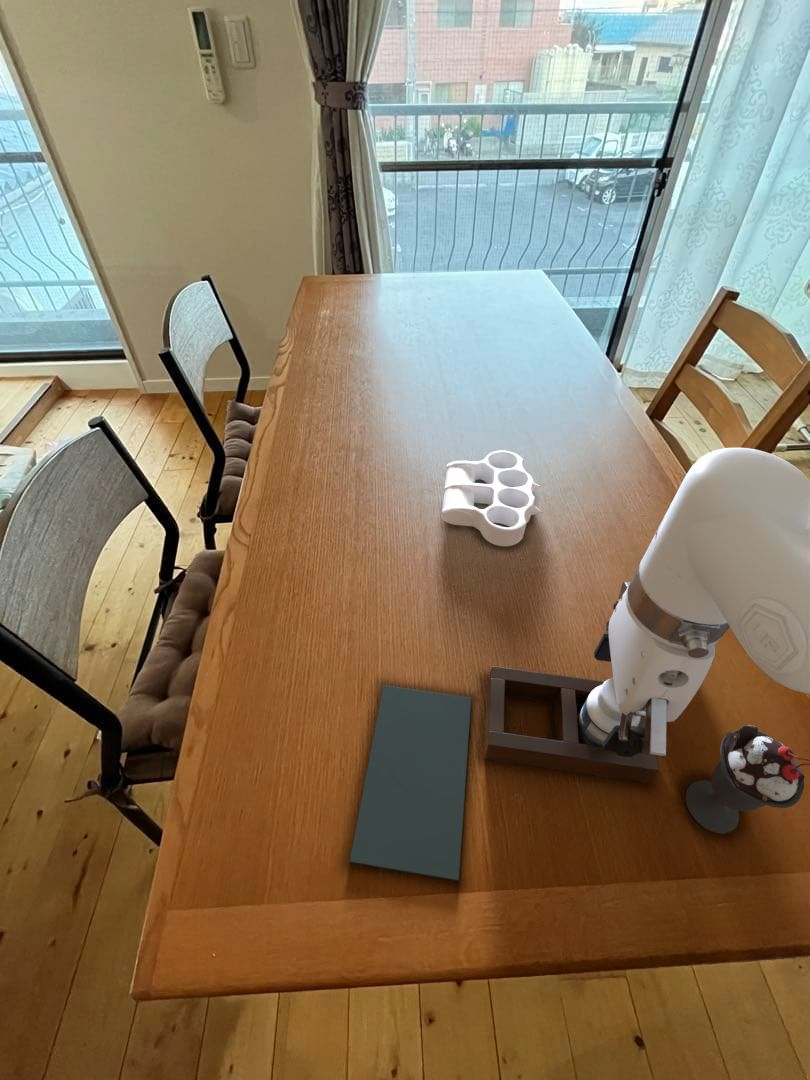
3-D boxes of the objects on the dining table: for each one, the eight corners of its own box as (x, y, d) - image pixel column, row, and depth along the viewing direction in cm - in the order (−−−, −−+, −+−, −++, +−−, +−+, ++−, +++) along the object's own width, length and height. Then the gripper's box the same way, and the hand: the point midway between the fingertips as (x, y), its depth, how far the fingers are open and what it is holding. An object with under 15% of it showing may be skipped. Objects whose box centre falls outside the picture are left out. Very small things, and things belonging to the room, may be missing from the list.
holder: (646, 783, 56) (658, 770, 54) (484, 758, 58) (488, 744, 55) (634, 702, 62) (644, 686, 60) (487, 681, 64) (491, 665, 61)
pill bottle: (584, 702, 62) (606, 660, 56) (629, 728, 60) (658, 688, 54) (564, 740, 59) (586, 700, 53) (612, 768, 57) (640, 731, 51)
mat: (458, 881, 50) (458, 880, 50) (349, 862, 51) (349, 861, 50) (471, 699, 62) (471, 697, 62) (383, 686, 63) (383, 684, 63)
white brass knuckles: (447, 462, 91) (537, 470, 90) (439, 540, 79) (542, 550, 78) (449, 445, 89) (541, 453, 88) (440, 523, 76) (547, 534, 75)
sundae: (751, 854, 52) (847, 798, 41) (676, 828, 53) (749, 768, 42) (746, 785, 56) (831, 718, 45) (676, 763, 58) (743, 693, 47)
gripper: (765, 710, 36) (667, 798, 49) (707, 523, 48) (640, 633, 60) (648, 694, 37) (581, 784, 49) (618, 513, 48) (570, 624, 61)
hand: (613, 701), depth 55 cm, fingers open, 9 cm apart
